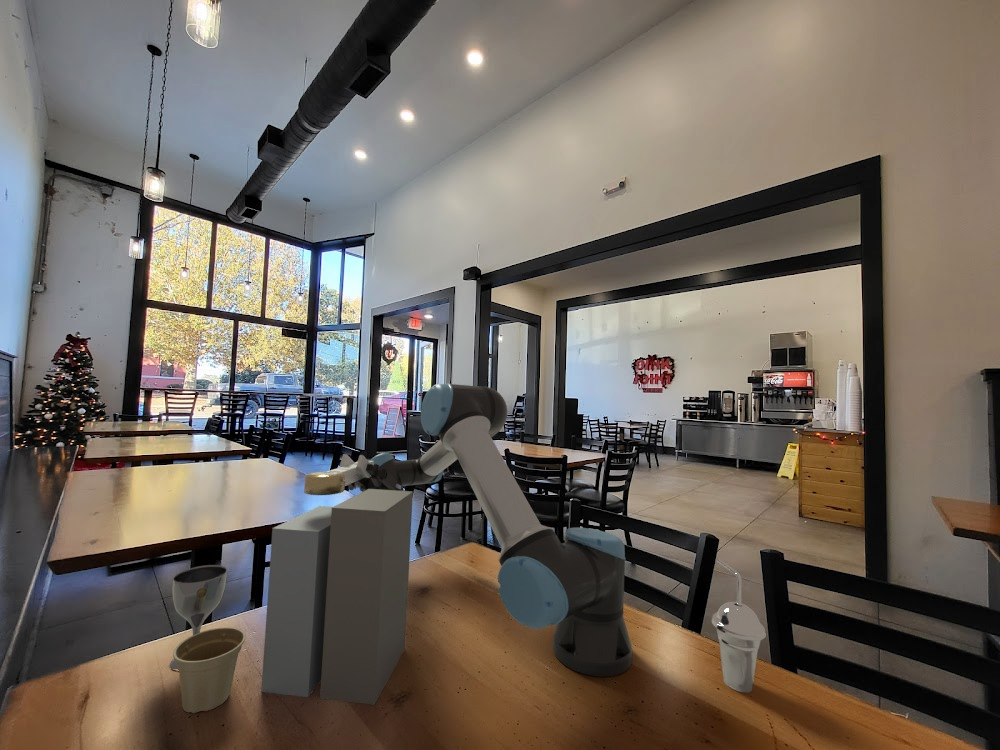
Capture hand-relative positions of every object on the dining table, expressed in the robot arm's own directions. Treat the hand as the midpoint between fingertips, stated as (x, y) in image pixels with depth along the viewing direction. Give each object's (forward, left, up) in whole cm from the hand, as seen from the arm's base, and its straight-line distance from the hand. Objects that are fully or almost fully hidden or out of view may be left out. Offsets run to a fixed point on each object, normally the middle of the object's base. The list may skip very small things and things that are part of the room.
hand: (351, 460), depth 91 cm
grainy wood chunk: (0, +3, -4) cm, 5 cm away
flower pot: (+11, +23, -35) cm, 43 cm away
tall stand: (-11, +13, -34) cm, 38 cm away
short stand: (0, +13, -35) cm, 37 cm away
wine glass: (+21, +14, -35) cm, 43 cm away
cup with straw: (-76, +5, -35) cm, 84 cm away
